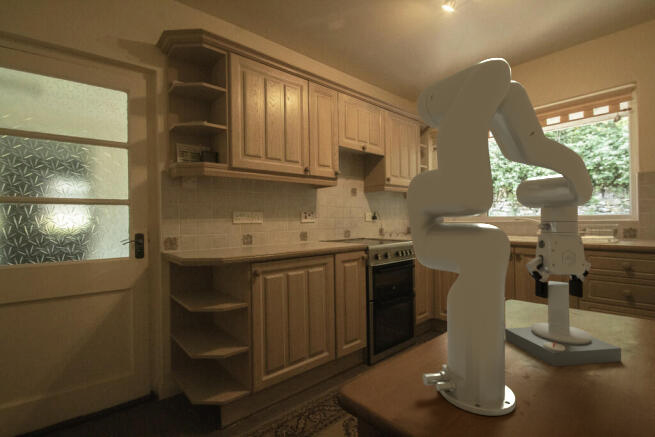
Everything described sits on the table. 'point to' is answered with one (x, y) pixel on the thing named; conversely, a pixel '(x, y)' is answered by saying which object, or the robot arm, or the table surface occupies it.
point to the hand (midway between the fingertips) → (558, 296)
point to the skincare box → (558, 308)
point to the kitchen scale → (562, 346)
